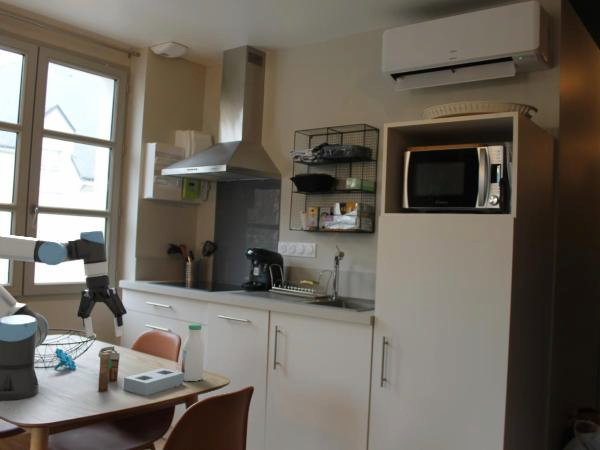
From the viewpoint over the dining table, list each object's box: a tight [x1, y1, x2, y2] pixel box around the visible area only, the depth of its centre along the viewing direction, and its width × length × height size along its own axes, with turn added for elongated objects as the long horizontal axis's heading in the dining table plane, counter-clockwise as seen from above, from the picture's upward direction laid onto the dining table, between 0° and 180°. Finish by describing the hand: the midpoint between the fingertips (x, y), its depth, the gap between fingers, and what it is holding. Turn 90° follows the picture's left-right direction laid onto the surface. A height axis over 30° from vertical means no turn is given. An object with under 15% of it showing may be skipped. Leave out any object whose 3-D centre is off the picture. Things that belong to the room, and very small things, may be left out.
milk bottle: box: [180, 323, 205, 382], centre depth 202 cm, size 8×8×20 cm
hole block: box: [122, 367, 184, 396], centre depth 189 cm, size 18×10×4 cm, turn 151°
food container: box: [97, 346, 120, 382], centre depth 196 cm, size 12×6×10 cm, turn 27°
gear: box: [54, 348, 77, 371], centre depth 205 cm, size 11×6×10 cm
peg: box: [97, 353, 110, 393], centre depth 181 cm, size 3×3×12 cm
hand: (104, 336), depth 191 cm, fingers open, 13 cm apart
